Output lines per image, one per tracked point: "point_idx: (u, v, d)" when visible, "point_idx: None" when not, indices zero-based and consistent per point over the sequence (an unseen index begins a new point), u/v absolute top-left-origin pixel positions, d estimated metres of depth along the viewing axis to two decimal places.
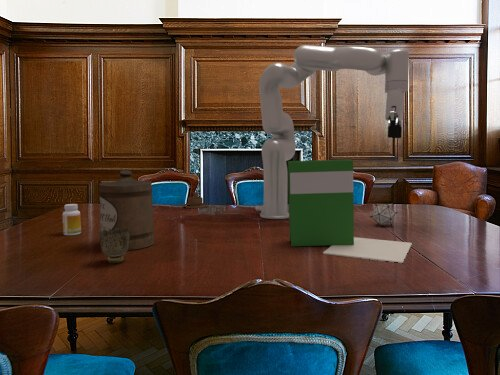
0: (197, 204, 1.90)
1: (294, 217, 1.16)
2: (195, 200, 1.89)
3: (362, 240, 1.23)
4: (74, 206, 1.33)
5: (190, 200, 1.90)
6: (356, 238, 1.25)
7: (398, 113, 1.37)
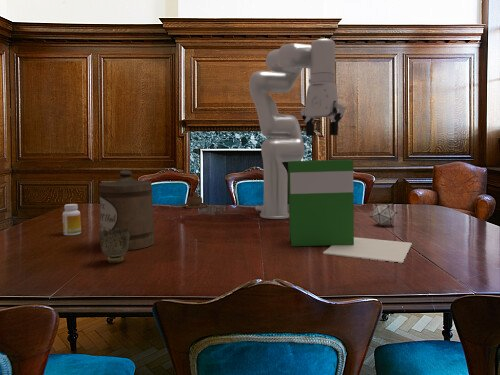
0: (196, 204, 1.91)
1: (294, 217, 1.16)
2: (194, 200, 1.90)
3: (362, 240, 1.23)
4: (74, 206, 1.33)
5: (189, 200, 1.90)
6: (356, 238, 1.25)
7: (337, 109, 1.28)
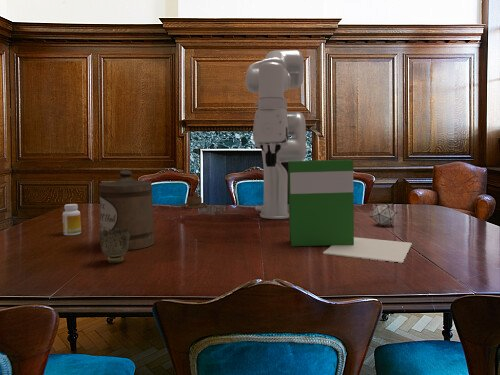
0: (196, 204, 1.91)
1: (294, 217, 1.16)
2: (194, 200, 1.91)
3: (362, 240, 1.23)
4: (74, 206, 1.33)
5: (189, 200, 1.91)
6: (356, 238, 1.25)
7: None
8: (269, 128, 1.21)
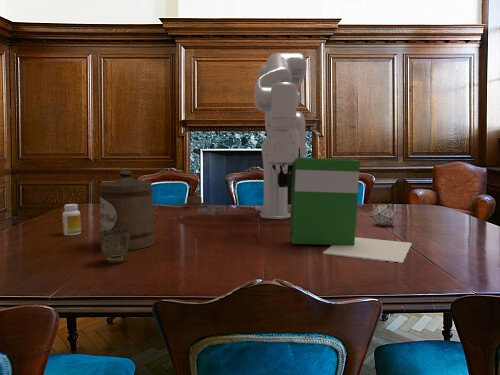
0: (196, 204, 1.92)
1: (297, 215, 1.15)
2: (194, 200, 1.91)
3: (362, 240, 1.23)
4: (74, 206, 1.33)
5: (189, 200, 1.92)
6: (356, 238, 1.25)
7: (300, 156, 1.22)
8: (281, 148, 1.20)
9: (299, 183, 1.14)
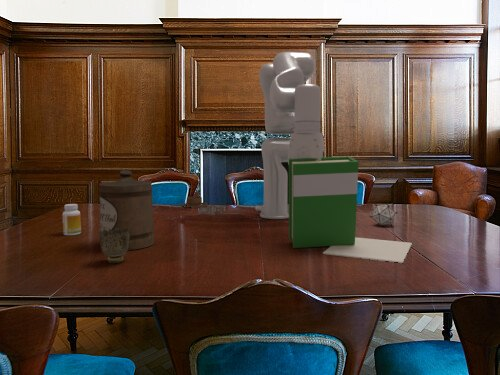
0: (196, 204, 1.92)
1: (296, 220, 1.13)
2: (194, 200, 1.91)
3: (362, 240, 1.23)
4: (74, 206, 1.33)
5: (189, 200, 1.92)
6: (356, 238, 1.25)
7: None
8: (305, 152, 1.17)
9: (297, 188, 1.11)
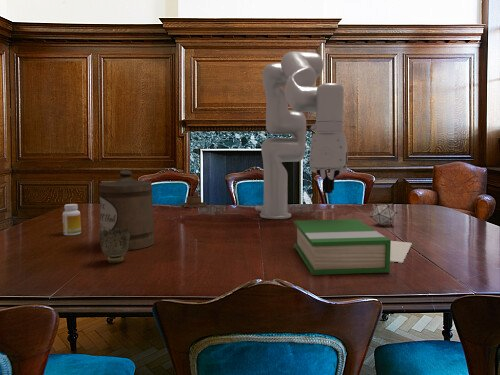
0: (195, 203, 1.93)
1: None
2: (193, 199, 1.92)
3: None
4: (74, 206, 1.33)
5: (188, 199, 1.93)
6: None
7: (347, 160, 1.16)
8: (328, 153, 1.14)
9: None
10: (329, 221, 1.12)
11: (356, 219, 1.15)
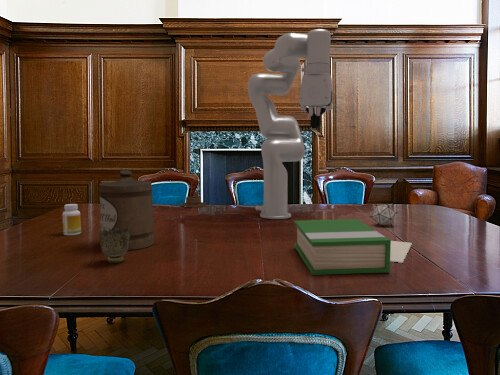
0: (194, 203, 1.93)
1: None
2: (192, 199, 1.92)
3: None
4: (74, 206, 1.33)
5: (188, 199, 1.93)
6: None
7: (332, 99, 1.32)
8: (315, 92, 1.30)
9: None
10: (329, 221, 1.12)
11: (356, 219, 1.15)
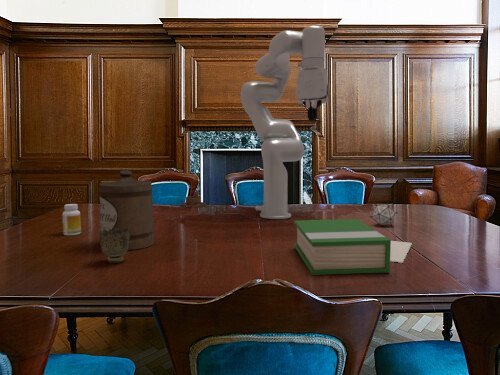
0: (194, 203, 1.94)
1: None
2: (192, 199, 1.93)
3: None
4: (74, 206, 1.33)
5: (187, 199, 1.94)
6: None
7: None
8: (312, 85, 1.36)
9: None
10: (329, 221, 1.12)
11: (356, 219, 1.15)
